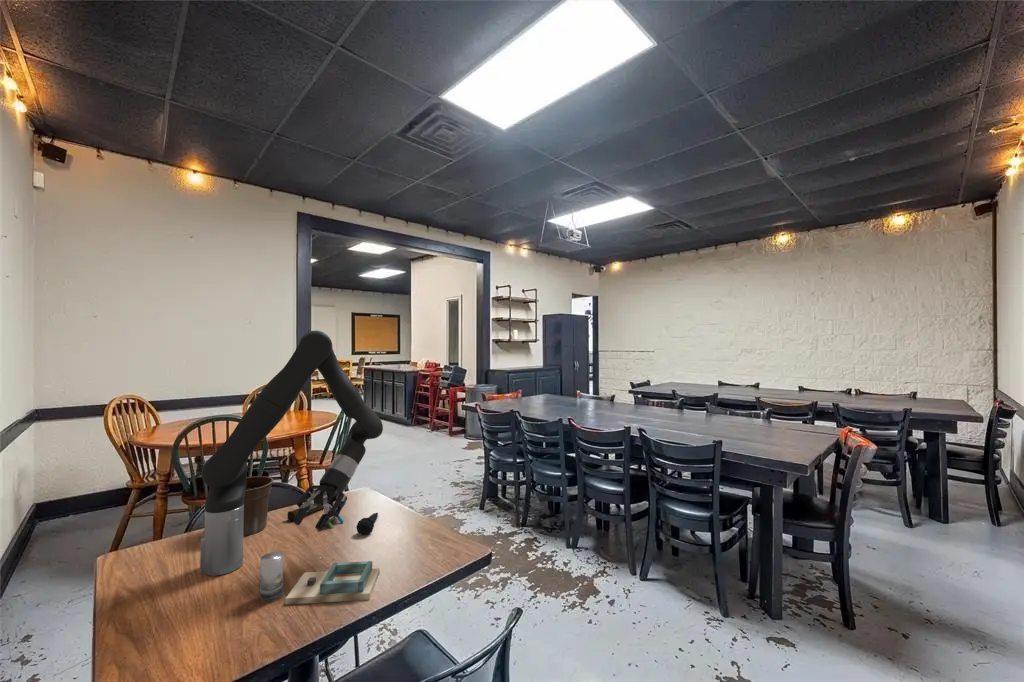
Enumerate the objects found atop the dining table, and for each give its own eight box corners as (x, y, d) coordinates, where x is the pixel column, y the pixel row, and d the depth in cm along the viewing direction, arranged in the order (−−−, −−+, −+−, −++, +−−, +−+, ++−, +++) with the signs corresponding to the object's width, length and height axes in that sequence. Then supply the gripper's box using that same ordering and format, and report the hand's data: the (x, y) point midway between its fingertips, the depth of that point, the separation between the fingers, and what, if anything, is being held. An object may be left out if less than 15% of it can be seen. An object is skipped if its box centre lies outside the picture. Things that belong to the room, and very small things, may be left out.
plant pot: (241, 543, 134) (242, 493, 134) (205, 536, 139) (206, 488, 139) (283, 523, 149) (284, 478, 150) (249, 518, 154) (250, 474, 155)
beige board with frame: (285, 604, 102) (285, 588, 102) (304, 577, 114) (304, 563, 114) (369, 599, 104) (369, 583, 104) (379, 573, 116) (379, 559, 116)
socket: (255, 603, 102) (256, 562, 103) (265, 591, 108) (266, 552, 108) (277, 601, 103) (278, 561, 103) (286, 589, 108) (287, 551, 108)
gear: (334, 511, 157) (348, 495, 154) (344, 522, 156) (359, 507, 153) (312, 526, 146) (327, 510, 144) (323, 539, 146) (338, 523, 143)
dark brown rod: (293, 523, 150) (293, 510, 150) (286, 521, 152) (286, 508, 152) (337, 506, 167) (337, 494, 167) (330, 504, 169) (331, 493, 169)
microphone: (372, 523, 158) (357, 540, 138) (368, 508, 158) (352, 523, 138) (386, 518, 158) (373, 534, 138) (382, 503, 159) (368, 517, 139)
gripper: (315, 464, 126) (280, 516, 116) (350, 469, 121) (317, 525, 110) (328, 477, 131) (296, 528, 120) (363, 483, 125) (333, 537, 115)
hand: (306, 526), depth 115 cm, fingers open, 8 cm apart
